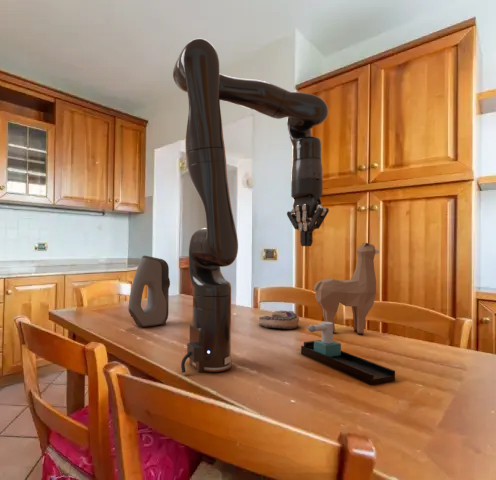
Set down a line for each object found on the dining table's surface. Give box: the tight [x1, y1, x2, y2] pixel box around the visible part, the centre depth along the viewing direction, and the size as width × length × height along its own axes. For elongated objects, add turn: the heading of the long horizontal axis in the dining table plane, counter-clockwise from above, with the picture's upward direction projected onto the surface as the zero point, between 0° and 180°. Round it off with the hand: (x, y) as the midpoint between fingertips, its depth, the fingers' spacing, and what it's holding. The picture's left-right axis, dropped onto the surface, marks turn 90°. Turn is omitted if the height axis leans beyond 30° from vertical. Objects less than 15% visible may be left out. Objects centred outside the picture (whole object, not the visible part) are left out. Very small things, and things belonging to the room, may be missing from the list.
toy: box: [312, 242, 380, 336], centre depth 112 cm, size 9×20×30 cm, turn 78°
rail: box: [300, 339, 396, 386], centre depth 81 cm, size 7×21×3 cm, turn 21°
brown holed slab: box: [127, 255, 171, 328], centre depth 119 cm, size 6×15×25 cm, turn 125°
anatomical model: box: [258, 310, 300, 330], centre depth 120 cm, size 12×16×5 cm
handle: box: [307, 321, 342, 357], centre depth 85 cm, size 8×4×8 cm, turn 111°
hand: (306, 246), depth 86 cm, fingers closed
